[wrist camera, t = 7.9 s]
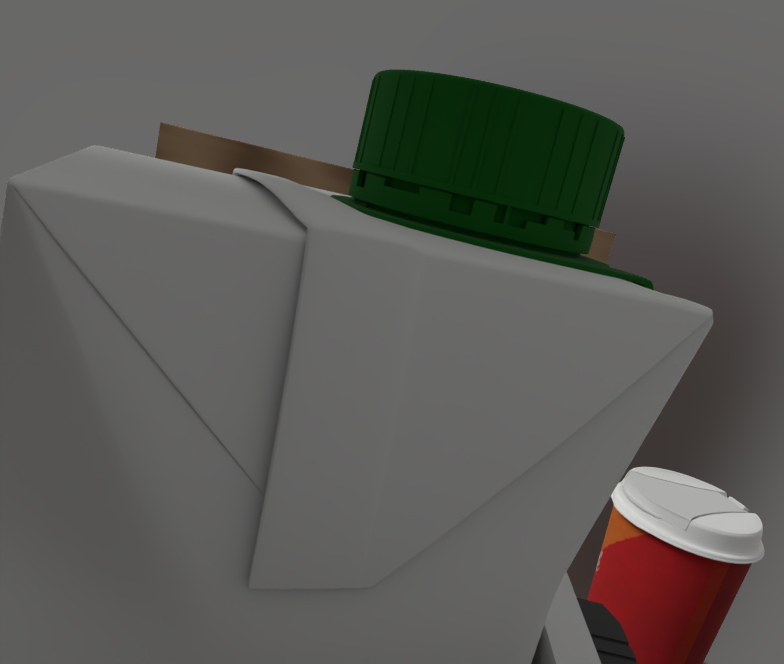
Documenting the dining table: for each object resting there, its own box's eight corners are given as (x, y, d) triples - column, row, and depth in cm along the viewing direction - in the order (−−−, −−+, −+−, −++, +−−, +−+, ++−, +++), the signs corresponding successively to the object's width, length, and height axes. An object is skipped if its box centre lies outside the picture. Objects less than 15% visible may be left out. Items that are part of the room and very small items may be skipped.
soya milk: (428, 1288, 12) (866, 153, 7) (-206, 1552, 9) (-115, -188, 4) (322, 819, 20) (501, 135, 15) (-29, 864, 17) (67, 12, 12)
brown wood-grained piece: (-69, 772, 26) (-4, 87, 20) (108, 548, 42) (173, 125, 36) (524, 894, 27) (752, 272, 21) (480, 631, 43) (604, 230, 37)
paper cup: (629, 666, 43) (703, 469, 39) (711, 774, 36) (809, 544, 32) (520, 664, 40) (589, 455, 37) (584, 779, 33) (677, 532, 30)
